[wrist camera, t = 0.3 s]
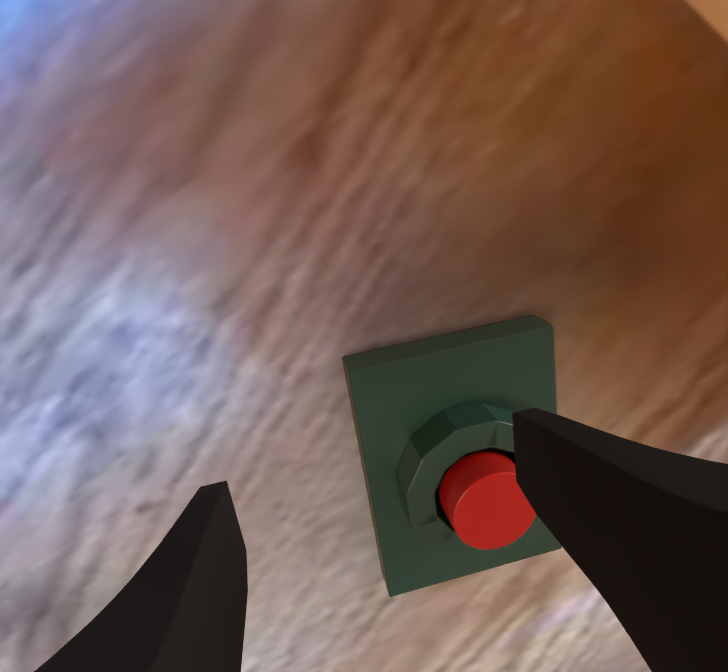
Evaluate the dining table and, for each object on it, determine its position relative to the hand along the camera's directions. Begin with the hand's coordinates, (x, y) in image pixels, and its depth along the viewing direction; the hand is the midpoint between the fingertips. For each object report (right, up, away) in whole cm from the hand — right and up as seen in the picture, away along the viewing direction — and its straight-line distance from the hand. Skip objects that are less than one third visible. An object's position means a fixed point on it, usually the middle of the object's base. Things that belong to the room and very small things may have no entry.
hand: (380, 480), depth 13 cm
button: (+5, -3, +9) cm, 11 cm away
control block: (+4, -2, +12) cm, 13 cm away
